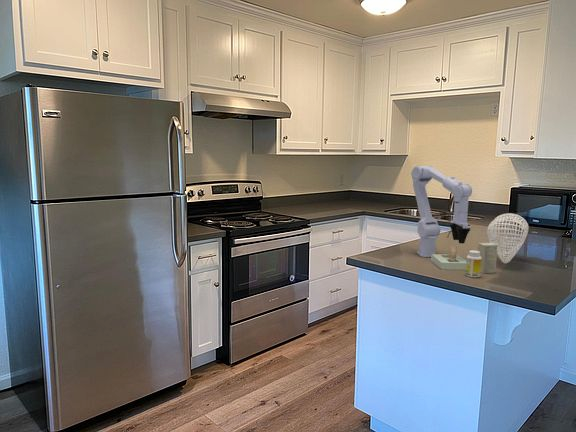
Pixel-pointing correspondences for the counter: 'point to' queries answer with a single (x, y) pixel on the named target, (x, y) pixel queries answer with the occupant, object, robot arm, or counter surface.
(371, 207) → the counter surface
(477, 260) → the supplement bottle
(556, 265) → the counter surface
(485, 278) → the counter surface
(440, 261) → the board
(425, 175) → the robot arm
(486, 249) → the skincare box
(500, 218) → the heart
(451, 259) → the dowel
